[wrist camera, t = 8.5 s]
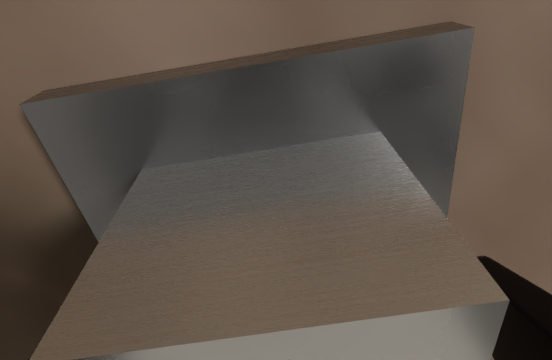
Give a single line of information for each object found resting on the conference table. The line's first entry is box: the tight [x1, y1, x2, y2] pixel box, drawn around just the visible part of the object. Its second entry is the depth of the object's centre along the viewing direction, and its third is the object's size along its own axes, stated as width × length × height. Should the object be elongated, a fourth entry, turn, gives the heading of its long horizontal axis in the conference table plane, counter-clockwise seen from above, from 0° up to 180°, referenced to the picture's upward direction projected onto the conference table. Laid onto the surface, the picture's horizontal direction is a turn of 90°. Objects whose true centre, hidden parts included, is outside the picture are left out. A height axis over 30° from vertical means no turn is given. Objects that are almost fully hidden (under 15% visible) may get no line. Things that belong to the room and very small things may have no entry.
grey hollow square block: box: [30, 131, 510, 360], centre depth 8 cm, size 6×6×5 cm
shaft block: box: [20, 22, 474, 242], centre depth 9 cm, size 10×10×5 cm
